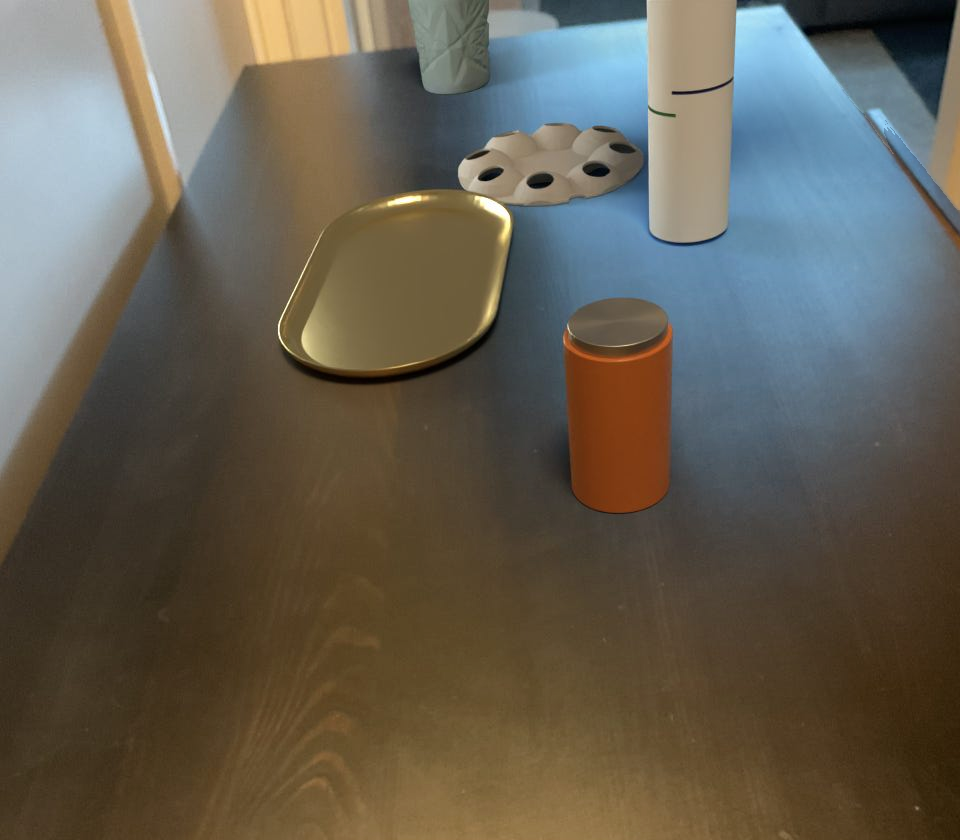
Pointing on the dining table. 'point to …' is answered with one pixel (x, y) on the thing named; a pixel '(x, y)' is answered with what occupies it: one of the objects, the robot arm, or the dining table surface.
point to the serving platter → (400, 284)
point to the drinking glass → (452, 44)
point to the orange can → (619, 403)
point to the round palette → (551, 164)
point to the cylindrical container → (690, 116)
